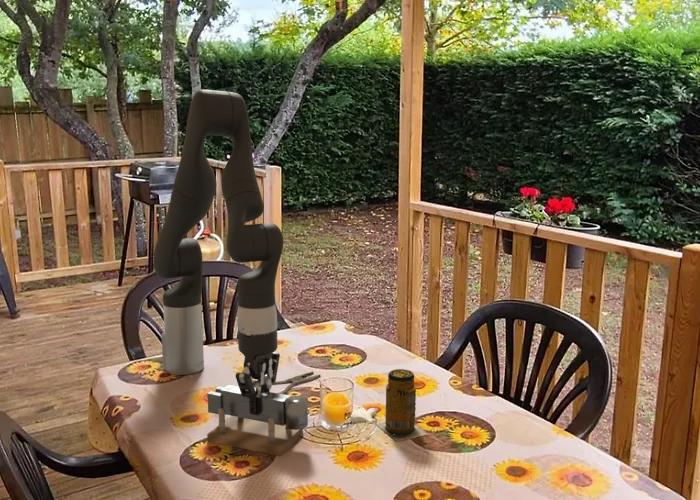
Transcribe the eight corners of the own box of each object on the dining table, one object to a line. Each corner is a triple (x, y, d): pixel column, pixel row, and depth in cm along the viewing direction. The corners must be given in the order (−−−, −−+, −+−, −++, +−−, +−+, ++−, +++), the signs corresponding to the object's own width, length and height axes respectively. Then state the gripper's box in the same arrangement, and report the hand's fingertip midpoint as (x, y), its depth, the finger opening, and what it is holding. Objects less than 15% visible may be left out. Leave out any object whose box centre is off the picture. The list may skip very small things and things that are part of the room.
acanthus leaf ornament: (343, 426, 142) (343, 417, 142) (343, 412, 149) (343, 404, 148) (379, 426, 142) (379, 417, 141) (378, 412, 149) (378, 404, 148)
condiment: (406, 418, 144) (407, 364, 142) (427, 435, 137) (429, 378, 134) (376, 425, 141) (376, 370, 139) (396, 442, 134) (397, 385, 131)
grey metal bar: (207, 412, 136) (206, 389, 135) (219, 404, 140) (218, 381, 139) (301, 431, 129) (301, 406, 128) (311, 421, 133) (311, 397, 132)
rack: (207, 441, 134) (206, 410, 133) (234, 420, 143) (233, 391, 142) (279, 456, 128) (279, 423, 127) (302, 433, 137) (302, 403, 136)
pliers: (235, 391, 157) (292, 365, 173) (235, 394, 157) (292, 368, 173) (266, 401, 152) (322, 374, 167) (266, 405, 152) (322, 377, 168)
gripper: (258, 314, 139) (260, 394, 142) (220, 335, 126) (224, 422, 129) (291, 318, 136) (292, 399, 139) (256, 340, 123) (259, 428, 126)
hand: (259, 410), depth 134 cm, fingers closed on grey metal bar, 3 cm apart
